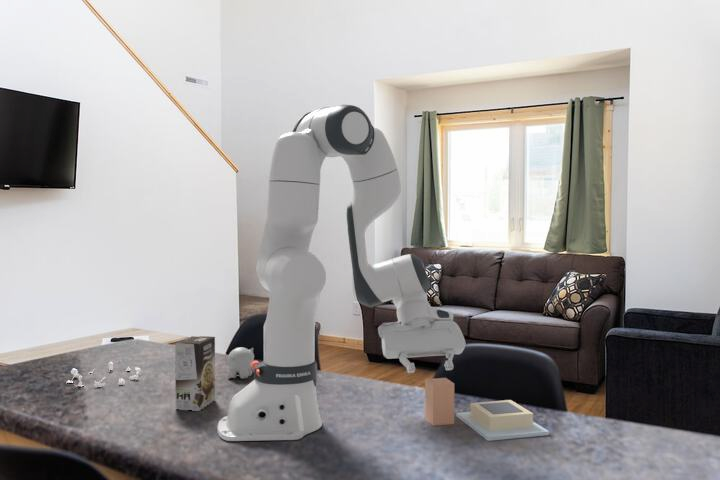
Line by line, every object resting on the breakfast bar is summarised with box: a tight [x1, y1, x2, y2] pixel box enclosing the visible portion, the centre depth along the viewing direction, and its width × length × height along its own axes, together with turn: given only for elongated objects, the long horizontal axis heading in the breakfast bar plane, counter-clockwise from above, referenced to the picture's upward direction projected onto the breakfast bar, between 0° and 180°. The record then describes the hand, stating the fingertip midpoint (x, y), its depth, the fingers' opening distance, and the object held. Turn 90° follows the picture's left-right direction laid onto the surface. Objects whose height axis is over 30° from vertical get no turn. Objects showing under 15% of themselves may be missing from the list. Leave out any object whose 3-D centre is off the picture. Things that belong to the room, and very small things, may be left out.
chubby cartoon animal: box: [226, 346, 255, 380], centre depth 178 cm, size 7×12×8 cm, turn 166°
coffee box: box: [174, 335, 216, 412], centre depth 150 cm, size 9×6×16 cm
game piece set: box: [66, 361, 141, 387], centre depth 174 cm, size 19×20×4 cm
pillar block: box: [424, 377, 455, 427], centre depth 139 cm, size 5×5×9 cm
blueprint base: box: [456, 399, 550, 442], centre depth 136 cm, size 14×16×4 cm
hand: (431, 370), depth 144 cm, fingers open, 8 cm apart
